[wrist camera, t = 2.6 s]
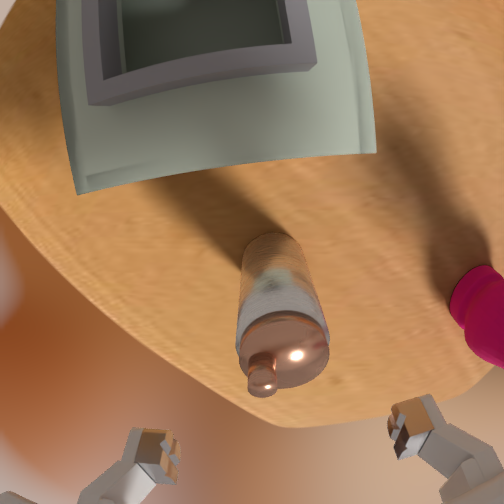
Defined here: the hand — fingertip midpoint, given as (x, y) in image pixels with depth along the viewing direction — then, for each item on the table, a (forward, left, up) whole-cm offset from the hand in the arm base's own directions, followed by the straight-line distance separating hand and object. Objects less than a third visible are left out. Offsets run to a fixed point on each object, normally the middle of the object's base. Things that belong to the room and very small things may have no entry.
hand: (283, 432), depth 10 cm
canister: (0, 0, -14) cm, 14 cm away
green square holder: (+2, -16, -14) cm, 21 cm away
